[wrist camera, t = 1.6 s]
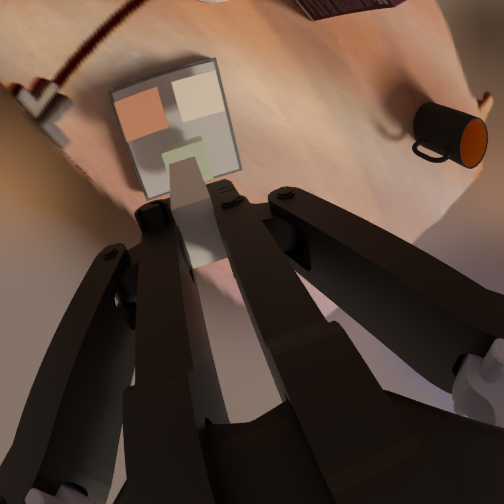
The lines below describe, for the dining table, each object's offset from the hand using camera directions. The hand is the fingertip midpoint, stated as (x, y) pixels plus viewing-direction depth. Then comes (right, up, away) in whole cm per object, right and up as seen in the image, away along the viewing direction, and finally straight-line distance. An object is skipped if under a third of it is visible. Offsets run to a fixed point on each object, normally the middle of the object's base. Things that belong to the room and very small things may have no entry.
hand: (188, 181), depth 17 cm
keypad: (-5, +11, +16) cm, 20 cm away
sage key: (-3, +6, +14) cm, 15 cm away
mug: (+32, +17, +25) cm, 44 cm away
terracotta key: (-7, +10, +10) cm, 16 cm away
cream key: (-2, +12, +10) cm, 16 cm away
